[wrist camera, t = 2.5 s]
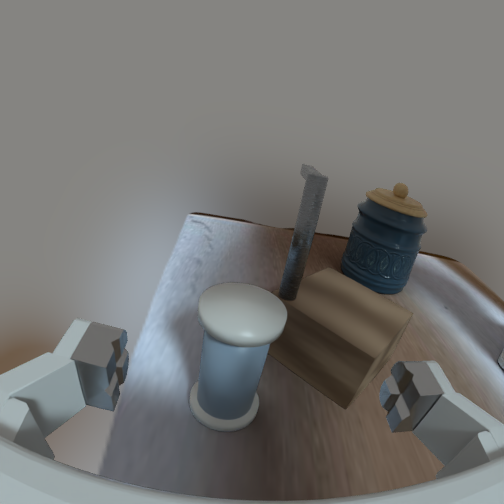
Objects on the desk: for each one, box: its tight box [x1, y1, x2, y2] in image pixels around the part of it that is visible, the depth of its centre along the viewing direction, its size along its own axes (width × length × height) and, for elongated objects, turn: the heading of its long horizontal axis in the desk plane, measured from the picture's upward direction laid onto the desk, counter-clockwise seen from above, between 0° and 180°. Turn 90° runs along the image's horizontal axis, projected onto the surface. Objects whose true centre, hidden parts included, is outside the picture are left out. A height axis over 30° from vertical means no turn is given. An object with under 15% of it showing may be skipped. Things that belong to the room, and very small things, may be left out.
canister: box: [341, 183, 427, 294], centre depth 52 cm, size 13×13×18 cm
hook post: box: [278, 164, 328, 301], centre depth 31 cm, size 2×6×12 cm, turn 1°
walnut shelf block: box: [268, 267, 413, 409], centre depth 33 cm, size 11×12×7 cm
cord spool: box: [190, 283, 287, 432], centre depth 24 cm, size 6×6×11 cm
